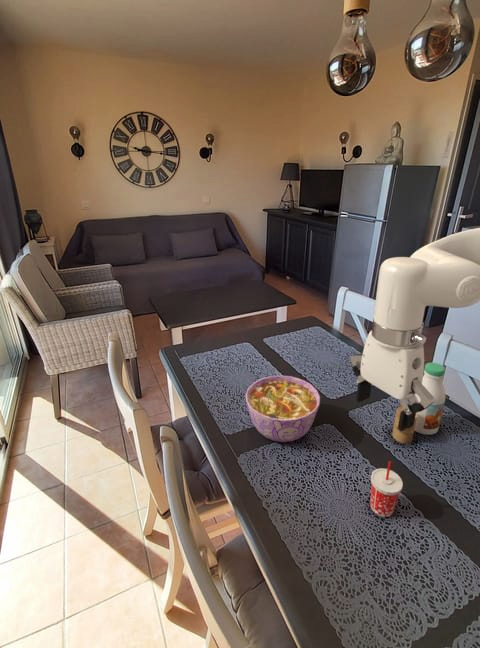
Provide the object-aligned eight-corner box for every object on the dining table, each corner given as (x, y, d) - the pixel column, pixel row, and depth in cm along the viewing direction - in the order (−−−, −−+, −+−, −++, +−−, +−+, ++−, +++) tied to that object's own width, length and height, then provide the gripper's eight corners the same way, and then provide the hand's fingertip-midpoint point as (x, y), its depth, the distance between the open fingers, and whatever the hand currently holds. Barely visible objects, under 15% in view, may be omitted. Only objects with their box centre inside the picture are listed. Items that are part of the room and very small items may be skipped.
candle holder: (410, 431, 99) (415, 405, 96) (418, 449, 93) (424, 421, 90) (386, 430, 100) (390, 404, 96) (392, 447, 94) (397, 420, 90)
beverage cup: (403, 516, 76) (413, 466, 71) (381, 528, 74) (390, 478, 68) (381, 494, 81) (389, 446, 76) (360, 504, 79) (367, 456, 73)
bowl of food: (292, 469, 89) (293, 432, 84) (231, 433, 101) (230, 399, 96) (330, 426, 102) (333, 392, 98) (273, 399, 115) (274, 367, 110)
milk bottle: (409, 435, 98) (422, 373, 90) (404, 417, 105) (416, 357, 97) (440, 439, 96) (456, 376, 88) (433, 420, 103) (447, 360, 95)
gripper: (458, 345, 56) (438, 432, 63) (370, 310, 70) (361, 384, 77) (428, 359, 52) (409, 449, 59) (342, 318, 66) (335, 395, 73)
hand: (382, 412), depth 68 cm, fingers open, 9 cm apart
